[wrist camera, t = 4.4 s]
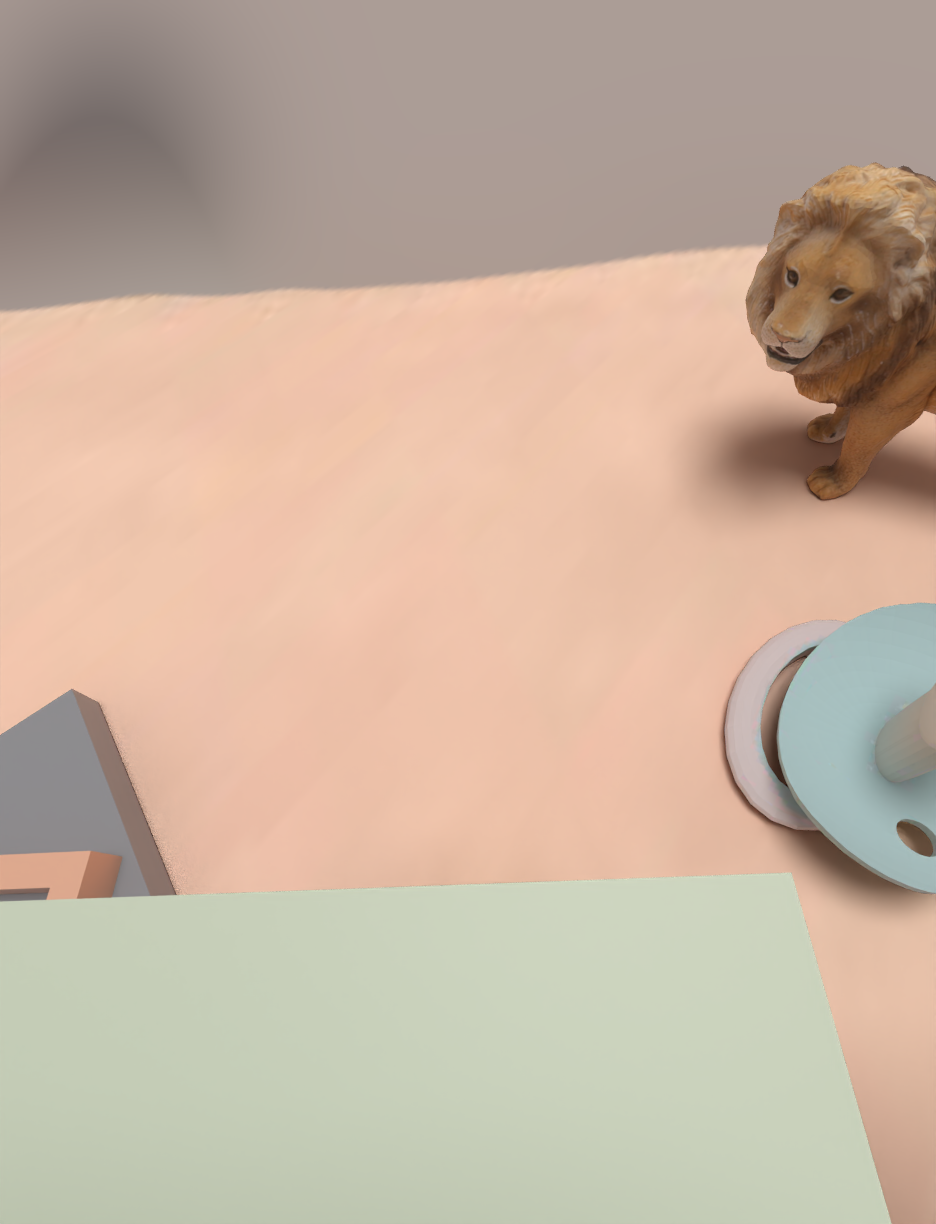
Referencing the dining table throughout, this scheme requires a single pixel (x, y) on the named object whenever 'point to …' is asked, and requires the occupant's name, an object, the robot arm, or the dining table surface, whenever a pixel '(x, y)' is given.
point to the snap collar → (60, 874)
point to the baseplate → (74, 796)
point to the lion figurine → (853, 309)
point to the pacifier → (848, 736)
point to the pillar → (427, 1058)
